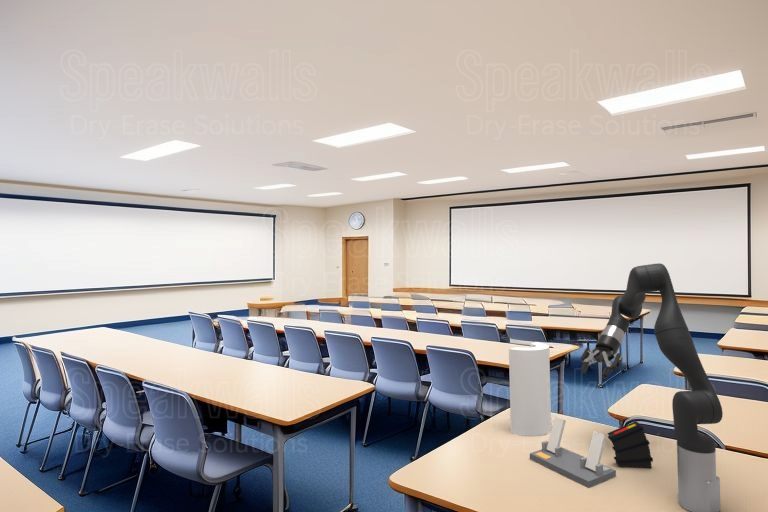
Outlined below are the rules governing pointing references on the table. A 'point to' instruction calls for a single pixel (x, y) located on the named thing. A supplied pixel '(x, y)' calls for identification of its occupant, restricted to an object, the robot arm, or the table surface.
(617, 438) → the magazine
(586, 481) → the switch panel
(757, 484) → the table surface
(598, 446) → the inner lever
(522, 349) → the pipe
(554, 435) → the outer lever
